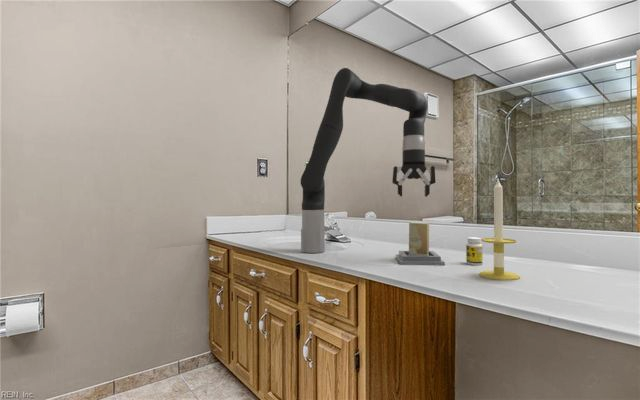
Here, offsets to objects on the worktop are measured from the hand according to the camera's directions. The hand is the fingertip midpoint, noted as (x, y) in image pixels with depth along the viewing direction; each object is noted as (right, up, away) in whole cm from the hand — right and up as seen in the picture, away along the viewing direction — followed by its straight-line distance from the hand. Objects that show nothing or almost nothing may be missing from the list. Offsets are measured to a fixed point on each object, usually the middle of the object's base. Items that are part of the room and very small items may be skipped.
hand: (413, 196), depth 116 cm
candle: (+17, -22, -24) cm, 37 cm away
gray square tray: (+1, -22, -1) cm, 22 cm away
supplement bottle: (+18, -22, -7) cm, 29 cm away
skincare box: (+2, -21, -1) cm, 21 cm away
